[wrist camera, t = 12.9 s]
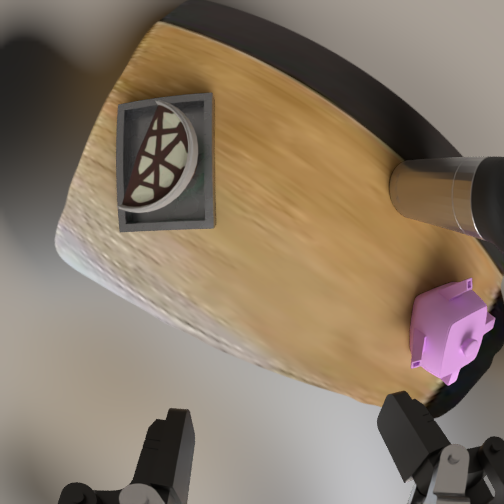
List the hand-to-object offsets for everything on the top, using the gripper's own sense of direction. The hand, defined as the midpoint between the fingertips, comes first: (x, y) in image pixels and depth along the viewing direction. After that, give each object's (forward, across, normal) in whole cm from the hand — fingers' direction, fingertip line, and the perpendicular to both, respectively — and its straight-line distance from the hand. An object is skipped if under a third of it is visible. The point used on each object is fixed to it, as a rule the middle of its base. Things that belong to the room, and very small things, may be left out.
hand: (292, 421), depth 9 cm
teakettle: (+30, -34, +14) cm, 47 cm away
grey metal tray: (+29, +12, -12) cm, 34 cm away
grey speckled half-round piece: (+29, +10, -11) cm, 32 cm away
